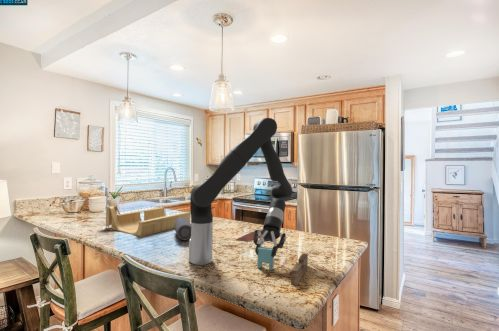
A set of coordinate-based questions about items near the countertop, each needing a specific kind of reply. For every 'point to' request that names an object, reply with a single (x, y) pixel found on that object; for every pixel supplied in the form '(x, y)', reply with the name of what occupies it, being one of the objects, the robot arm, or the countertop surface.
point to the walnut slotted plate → (299, 269)
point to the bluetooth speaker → (183, 228)
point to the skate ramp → (134, 224)
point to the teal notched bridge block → (265, 257)
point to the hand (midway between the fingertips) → (264, 255)
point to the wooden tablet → (248, 237)
